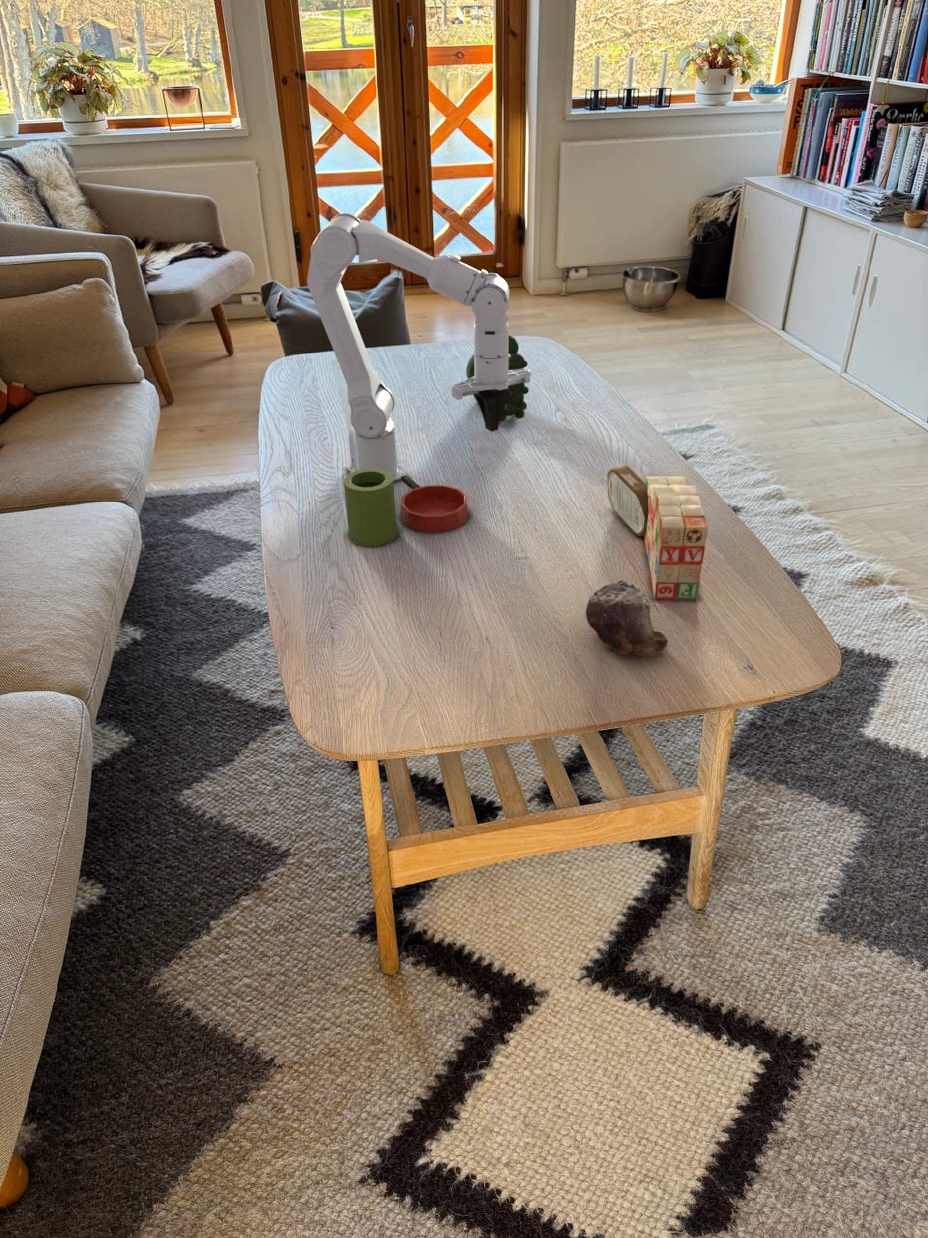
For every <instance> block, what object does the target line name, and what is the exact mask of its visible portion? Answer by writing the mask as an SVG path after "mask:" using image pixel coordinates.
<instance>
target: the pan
mask: <svg viewBox="0 0 928 1238" xmlns="http://www.w3.org/2000/svg"><path fill="white" fill-rule="evenodd" d="M400 480H401V481H402V483H404V485H406V486H407V487H408V488H409V489H410V490H409V491H408V492H406V493H404V494H403V495H402V496H401V501H400V513H401V514H400V515H401V519H402V522H403V523H404V525H406V526H407V527H409V528H410V529H412V530H415V531H418V532H423V533H442V532H449V531H452V530H454V529H457V528H459V527H461V526H462V525H463V524H464V523H466V521H467V520H468V495H467V494H466V493H465V492H464V491H462V490H461V489H460V488H457V487H453V486H448V485H445V484H435V485H434V484H433V485H431V484H429V485H428V484H427V485H424V486H421V485H420V484H418V483H417V482H416V481H415V480H414V479H413V478H411V477H410V476H409V475H404V476H401V479H400Z"/></svg>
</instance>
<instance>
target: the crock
mask: <svg viewBox="0 0 928 1238" xmlns="http://www.w3.org/2000/svg"><path fill="white" fill-rule="evenodd" d="M394 483H395V481H393V475H392V474H390V473H389V472H388V471H385V470H382V469H375V468H369V469H360V470H357V471H353V472H349V473H348V474H346V475H345V477H344V478H343V489H344V499H345V500H344V501H345V509H346V519H347V526H348V527H347V528H348V536H349V539H350V541H351V542H352V543H354V544H356V545H359V546H363V547H379V546H383V545H386V544H389V543H391V542H392V541H394V540H395V539H396V537H397V535H398V523H397V511H396V510H397V509H396V497H395V484H394Z"/></svg>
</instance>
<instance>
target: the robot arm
mask: <svg viewBox="0 0 928 1238" xmlns="http://www.w3.org/2000/svg"><path fill="white" fill-rule="evenodd" d="M356 256H358V264H362V263H366V262H370V261H374V260H382V261H385V262H387V263H389V264H392V265H394V266H396V267H399V268H401V269H404V270H406V271H408V272H411V273H413V274H415V275H418V276H420V277H423V278H424V279H425V280H426V281H427V283H428V286H429V288H430V290H431V291H434V292H436V293H437V294H439V295H442V296H444V297H446V298H448V299H450V300H452V301H455V302H456V303H459V304H460V305H463V306H464V307H471V310H472V313H473V315H474V325H473V354H474V373H475V376H473V377H471V378H469V379H468V378H467V379H465V380H463V381H461V382H458V383H454V384H452V385H450V388H451V397H452V398H454V399H455V400H458V401H459V400H462V399H463V398H464V397H468V396H472V395H473V397H474V399H475V401H476V403H477V405H478V407H479V410H480V412H481V415H482V419H483V421H484V422H483V423H484V426H485V429H486V430H488V431H489V432H491V433H493V432H496V431H499V427H500V423H501V421H500V420H501V416H502V413H503V411H504V408H505V406H506V404H507V402H508V401H509V399H510V398H511V391H510V390H509V389H507V388H508V386H509V385H513V384H518V383H522V382H524V383H525V384H529V383H531V370H528V369H527V368H526V367H524V368H523V369H517V370H508V357H509V354H508V335H509V329H510V328H509V327H510V325H509V322H508V321H509V313H508V309H509V299H510V287H509V285H508V283H507V281H506V279H504V278H503V277H502V276H500V275H499V274H498V273H495V272H488V271H487V270H485V269H481V271H480V270H478V269H476V268H474V267H472V266H470V265H468V264H466V263H464V262H462V261H460V260H461V257H460V256H459V255H457V254H455V253H454V254H452V256H449V255H448V254H443V255H440V256H436V257H434V256H431V255H430V254H428V253H426V252H425V251H422V250H421V249H420V248H417V247H415V246H413V245H412V244H409V243H408V242H406V241H404V240H403V239H401V238H399V237H397V236H395V235H394V234H392V233H390V232H388V231H386V230H385V229H382V228H381V227H379V226H378V225H376V224H374V223H372V222H371V221H369V220H366V219H360V218H358V217H357V216H356V215H354V214H352V213H349V212H348V213H347V212H344V213H339V214H336V215H335V216H333V217H332V218H331V220H330V221H329V222H328V224H327V225H326V227H324V228H323V229H322V230H321V231H320V232H319V233H318V235H317V236H316V238H315V240H314V241H313V243H312V245H311V246H310V260H309V266H308V271H307V279H306V283H307V288H308V290H309V293H310V295H311V297H312V300H313V302H314V305H315V307H316V310H317V312H318V315H319V318H320V320H321V323H322V325H323V327H324V330H325V332H326V335H327V337H328V340H329V343H330V345H331V347H332V350H333V353H334V355H335V357H336V359H337V362H338V365H339V368H340V370H341V372H342V375H343V378H344V380H345V383H346V387H347V388H346V389H347V402H348V405H349V407H350V424H351V427H350V428H349V429H350V430H349V432H348V446H349V456H350V464H349V465H346V470H347V471H348V472H349V473H351V472H353V471H357V470H360V469H369V468H375V469H382V470H385V471H388V472H389V473H390V474H392V475H393V482H395V481H399V480H401V476H404V475H407V473H406V472H404V471H403V470H402V469H401V468H399V467H398V453H397V437H396V426H395V423H394V422H393V419H392V417H391V413H392V412H393V410H394V408H395V397H394V394H393V392H392V391H391V390H390V389H389V388H388V387H387V386H386V385H385V384H384V382H383V380H382V377H381V375H380V374H378V373H377V371H375V370H374V367H373V364H372V361H371V359H370V357H369V354H368V351H367V349H366V345H365V343H364V341H363V338H362V335H361V331H360V330H359V328H358V324H357V322H356V320H355V317H354V315H353V312H352V310H351V309H352V308H351V306H350V305H349V301H348V298H347V296H346V293H345V290H344V288H343V285H342V280H343V277H344V275H345V273H346V271H347V268H348V267H349V266H350V265H351V263H352V262H353V261H354V260H355V258H356ZM407 476H408V475H407Z"/></svg>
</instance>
